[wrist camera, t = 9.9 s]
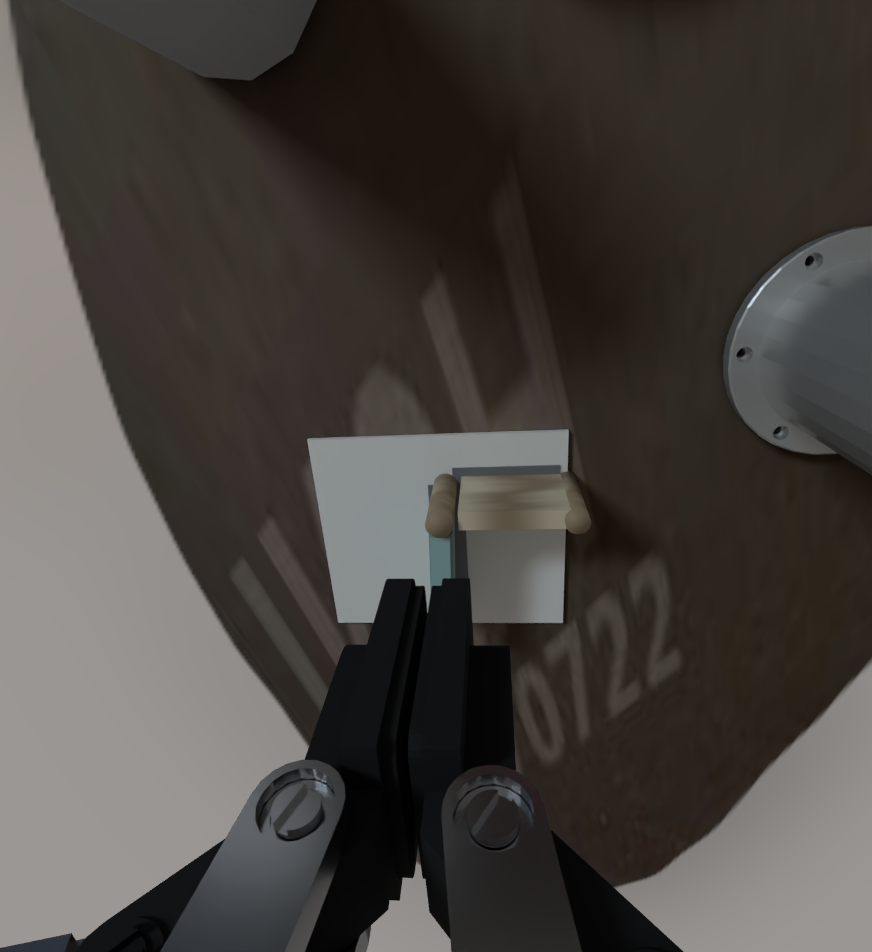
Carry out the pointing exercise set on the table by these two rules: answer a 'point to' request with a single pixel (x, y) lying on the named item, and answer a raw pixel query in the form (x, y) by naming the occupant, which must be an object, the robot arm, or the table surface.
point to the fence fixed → (508, 503)
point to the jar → (208, 31)
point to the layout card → (404, 515)
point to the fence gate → (442, 557)
